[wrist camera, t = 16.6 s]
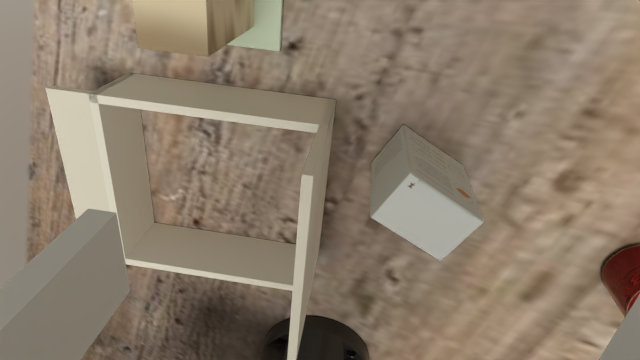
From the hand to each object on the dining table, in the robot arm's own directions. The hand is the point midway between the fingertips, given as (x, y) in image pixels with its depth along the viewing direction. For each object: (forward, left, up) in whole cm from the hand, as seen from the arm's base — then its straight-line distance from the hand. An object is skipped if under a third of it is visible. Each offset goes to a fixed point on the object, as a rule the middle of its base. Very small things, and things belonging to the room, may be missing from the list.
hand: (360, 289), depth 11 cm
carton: (-16, +16, -33) cm, 40 cm away
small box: (-12, -6, -33) cm, 36 cm away
